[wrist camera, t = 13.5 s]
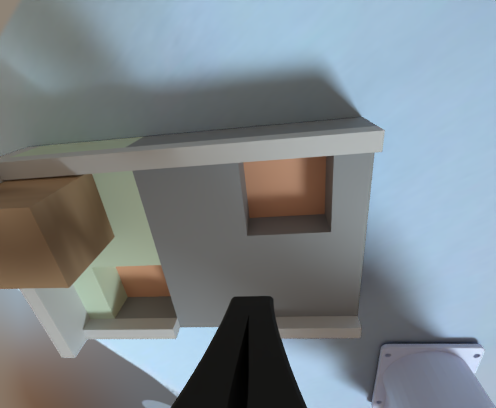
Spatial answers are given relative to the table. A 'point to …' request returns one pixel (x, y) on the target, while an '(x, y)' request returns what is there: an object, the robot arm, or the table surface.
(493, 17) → the table surface
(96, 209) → the walnut block
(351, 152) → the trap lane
